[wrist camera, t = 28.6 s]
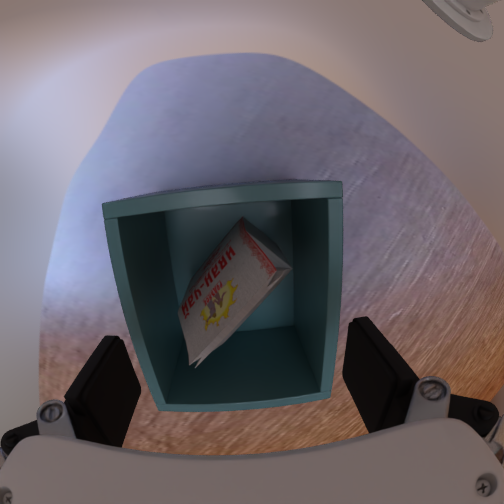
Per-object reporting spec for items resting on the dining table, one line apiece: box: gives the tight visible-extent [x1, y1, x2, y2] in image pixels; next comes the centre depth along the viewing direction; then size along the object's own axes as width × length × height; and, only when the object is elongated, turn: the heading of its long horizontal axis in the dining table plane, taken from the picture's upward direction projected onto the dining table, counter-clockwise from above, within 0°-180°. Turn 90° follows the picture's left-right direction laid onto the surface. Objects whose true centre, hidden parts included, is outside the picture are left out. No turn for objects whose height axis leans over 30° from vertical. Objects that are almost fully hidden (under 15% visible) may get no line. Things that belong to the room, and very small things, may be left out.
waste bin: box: [102, 179, 343, 412], centre depth 18 cm, size 14×12×10 cm
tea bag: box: [178, 216, 293, 368], centre depth 17 cm, size 4×7×10 cm, turn 140°
